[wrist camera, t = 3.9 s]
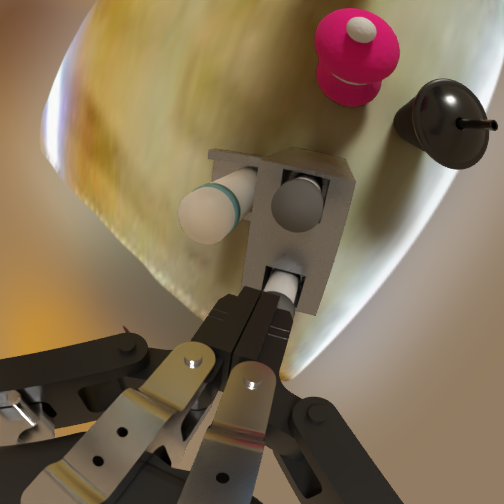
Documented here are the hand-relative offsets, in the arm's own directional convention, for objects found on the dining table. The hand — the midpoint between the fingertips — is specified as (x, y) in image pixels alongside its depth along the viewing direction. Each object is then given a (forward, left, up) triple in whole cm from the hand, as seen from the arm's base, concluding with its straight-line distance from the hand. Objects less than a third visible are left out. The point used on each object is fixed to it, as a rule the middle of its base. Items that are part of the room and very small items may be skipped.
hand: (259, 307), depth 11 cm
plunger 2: (+6, 0, -13) cm, 14 cm away
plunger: (-2, 0, -14) cm, 14 cm away
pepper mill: (-14, +2, -27) cm, 30 cm away
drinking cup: (-11, +11, -27) cm, 31 cm away
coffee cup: (+2, -8, -26) cm, 27 cm away
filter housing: (+2, -5, -26) cm, 27 cm away
